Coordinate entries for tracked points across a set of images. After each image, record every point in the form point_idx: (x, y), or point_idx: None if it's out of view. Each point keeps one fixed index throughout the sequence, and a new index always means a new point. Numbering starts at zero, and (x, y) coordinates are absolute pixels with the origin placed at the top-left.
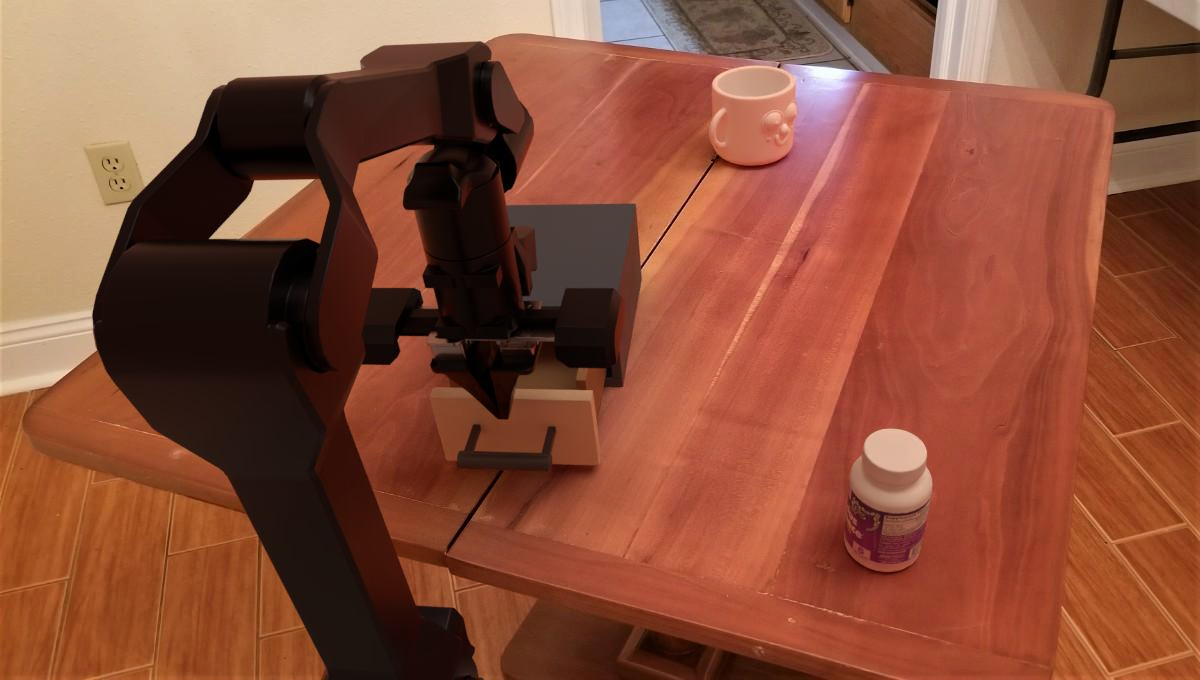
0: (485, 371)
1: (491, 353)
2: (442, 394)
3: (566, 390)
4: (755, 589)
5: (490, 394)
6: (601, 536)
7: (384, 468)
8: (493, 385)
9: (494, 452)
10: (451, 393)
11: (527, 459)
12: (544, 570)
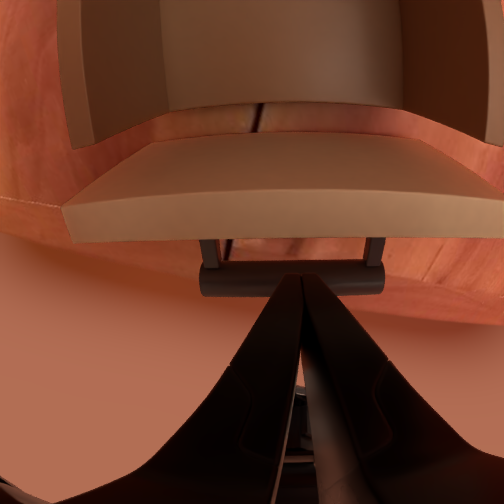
0: (278, 481)
1: (279, 460)
2: (94, 231)
3: (468, 200)
4: (499, 295)
5: (290, 420)
6: (404, 258)
7: (80, 176)
8: (319, 494)
9: (273, 285)
10: (112, 225)
11: (343, 293)
12: (341, 301)
